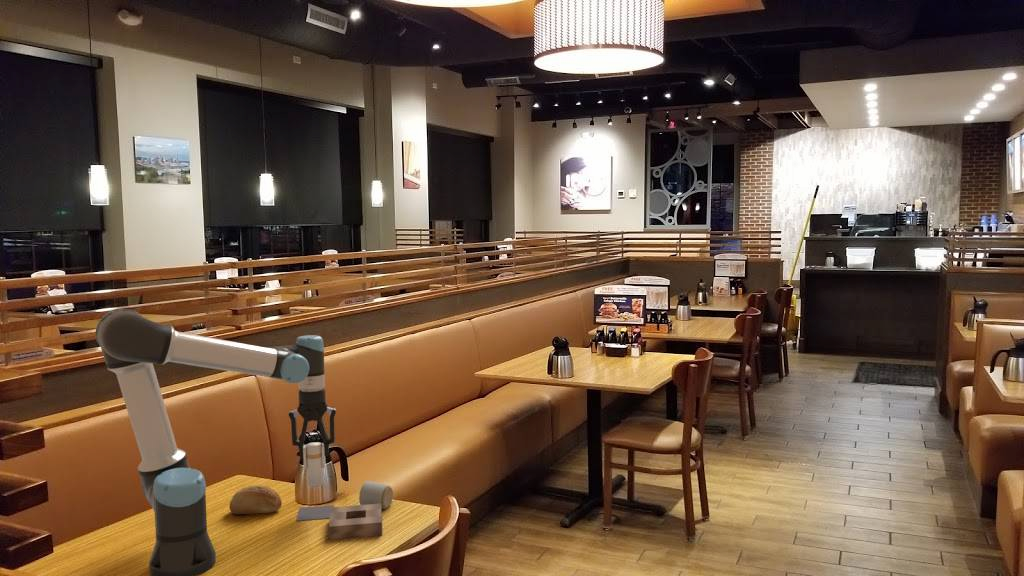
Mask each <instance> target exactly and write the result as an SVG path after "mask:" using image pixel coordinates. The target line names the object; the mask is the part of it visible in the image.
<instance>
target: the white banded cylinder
mask: <svg viewBox="0 0 1024 576" xmlns="http://www.w3.org/2000/svg"><path fill="white" fill-rule="evenodd" d="M322 444H323V443H322V442H319V441H317V442H309V443H307V444H305V445H306V458H307V469H306V471H307V472H306V473H307V486H308V487H310V488H318V487H321V486H323V485H324V484H325V483H324V470H323V469H324V468H322V447H321V446H322Z"/></svg>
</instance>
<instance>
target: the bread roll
mask: <svg viewBox="0 0 1024 576" xmlns="http://www.w3.org/2000/svg"><path fill="white" fill-rule="evenodd" d="M282 504H283V503H282V499H281V496H280V495H279V493H278V492H276V490H274V489H273V488H271V487H268V486H266V485H262V484H261V485H260V484H258V485H257V484H254V485H249V486H246V487H243V488H241V489H239V490H238V491H236V492H235V493H234V494H233V496H232V498H231V500H230V502H229V510H230V512H231V513H232V514H233V515H249V514H262V513H264V514H265V513H266V514H267V513H273V512H277V511H278V510H280V509H281V507H282Z"/></svg>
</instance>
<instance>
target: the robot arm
mask: <svg viewBox="0 0 1024 576" xmlns="http://www.w3.org/2000/svg"><path fill="white" fill-rule="evenodd" d="M98 321H99V322H98V323H97V325H96V327H95V331H94V333H95V334H94V335H95V336H94V337H95V340H96V342H97V344H98V345H99V347H100V350H101V353H102V356H103V359H104V362H105V366H106V368H107V370H108V371H109V372H110V371H111V372H113V373H114V374H115V375H116V379H117V381H118V384H119V389H120V391H121V394H122V397H123V401H124V404H125V407H126V411H127V414H128V417H129V420H130V425H131V427H132V430H133V434H134V437H135V441H136V443H137V448H138V450H139V453H140V456H141V461H140V463H139V465H138V467H137V470H138V472H139V476H140V480H141V485H142V487H141V488H142V489H141V491H142V493H143V495H144V497H145V499H146V500H147V501H148V502H149V504H150V506H151V508H152V510H153V511H154V525H155V528H154V529H155V542H154V547H153V549H152V554H151V557H150V560H149V567H148V568H149V574H150V575H149V576H197V575H198V576H199V575H200V574H203V573H205V572H206V571H208V570H210V569H211V568H213V567H214V565H215V564H216V562H217V561H216V559H217V558H216V557H217V556H216V555H217V554H216V550H215V547H214V545H213V542H212V540H211V537H210V535H209V533H208V525H207V523H208V522H207V521H208V520H207V497H206V490H207V483H206V481H205V476H204V474H203V473H202V472H201V471H200V470H198V469H195V468H192V467H191V466H190V464H189V459H188V457H187V453H186V451H185V450H183V449H180V448H178V445H177V443H176V439H175V436H174V435H175V434H174V432H173V429H172V426H171V421H170V418H169V415H168V412H167V408H166V405H165V401H164V397H163V395H162V391H161V388H160V383H159V381H158V378H157V373H156V371H155V367H154V364H155V365H161V366H162V365H165V364H166V363H169V362H170V363H175V364H180V365H181V364H182V365H188V366H195V367H200V368H208V369H214V370H221V371H226V372H232V373H233V372H234V373H238V374H239V373H240V374H245V375H250V376H251V375H252V376H260V377H264V378H270V379H276V380H282V381H285V382H286V383H292V384H297V385H298V386H297V388H298V389H299V390H298V406H297V408H296V409H293V410H292V409H290V411H289V413H288V417H289V419H290V425H291V441H292V442H291V444H292V446H295V447H296V446H297V447H298V451H299V452H298V453H299V454H298V455H299V456H298V457H299V458H300V459H301V458H302V459H303V470H307V458H306V445H307V444H305V440H306V439H305V438H306V435H307V430H308V425H309V422H312V421H314V422H317V425H318V429H319V432H320V435H321V439H322V443H321V444H322V446H321V447H322V468H323V469H325V468H326V457H328V456H329V454H330V449H329V448H330V447H329V445H330V444H334V443H335V438H336V436H335V434H336V432H335V428H336V427H335V415H336V412H337V408H336V407H333V408H332V407H328V404H327V402H326V401H327V400H326V389H325V387H326V378H325V377H326V376H325V375H326V374H325V373H326V372H325V346H324V340H323V339H324V338H322V337H321V336H320V335H314V334H312V335H311V334H310V335H307V334H306V335H301V336H297V338H296V342H295V344H290V345H289V344H288V345H281V346H279V345H277V346H266V347H263V346H259V345H253V344H247V343H241V342H237V341H231V340H225V339H221V338H215V337H209V336H203V335H198V334H193V333H188V332H182V331H178V330H175V328H174V326H172V325H169V324H162V323H159V322H155V321H153V320H151V319H148V318H147V317H144V316H142V314H140V313H139V312H138V311H135V310H134V309H127V308H121V309H116V310H112V311H110V312H107V313H105V315H104V316H102V318H100V320H98ZM326 412H327V415H328V416H329V438H328V434H327V430H326V427H325V424H324V419H323V416H324V415H325V413H326ZM298 415H300V416H301V417H302V419H303V423H302V428H301V433H300V436H299V437H300V438H299V439H298V427H297V418H298Z"/></svg>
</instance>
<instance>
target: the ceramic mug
mask: <svg viewBox="0 0 1024 576" xmlns="http://www.w3.org/2000/svg"><path fill="white" fill-rule="evenodd" d="M393 496H394V490H393V488H392V487H391V486H390V485H388V484H386V483H385V484H384V483H379V482H375V481H370V480H366V481H365V482H364V483H363V484H362V486H361V487H360V490H359V497H358V500H359V505H368V504H381V510H386V509H388V508H389V507H390V505H391V504H392V502H393V498H394V497H393Z"/></svg>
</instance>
